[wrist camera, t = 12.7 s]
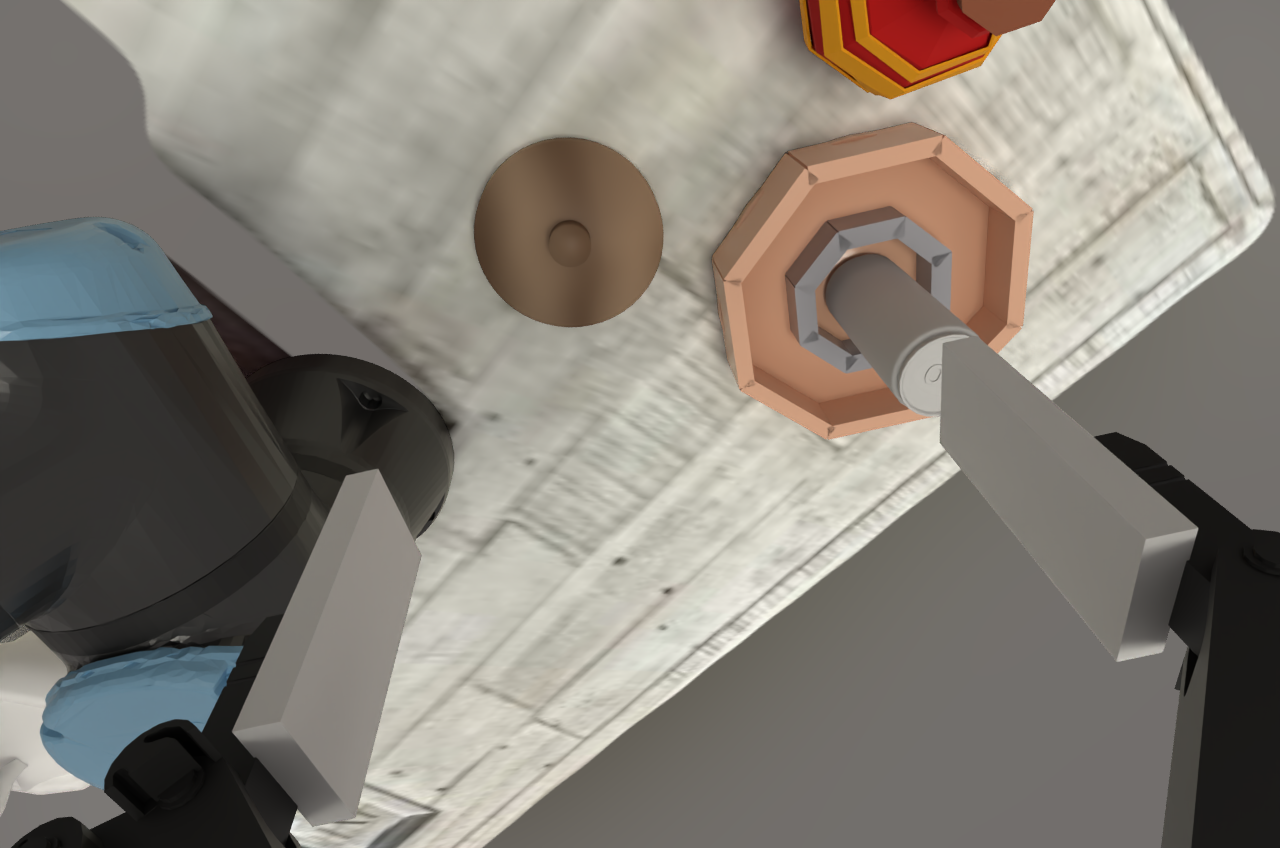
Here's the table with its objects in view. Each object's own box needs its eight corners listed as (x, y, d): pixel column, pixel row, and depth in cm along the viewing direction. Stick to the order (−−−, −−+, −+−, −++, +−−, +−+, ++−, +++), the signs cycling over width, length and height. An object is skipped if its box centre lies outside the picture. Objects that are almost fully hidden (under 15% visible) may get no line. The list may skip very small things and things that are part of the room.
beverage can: (881, 327, 47) (968, 424, 36) (812, 317, 46) (882, 413, 36) (909, 257, 44) (1011, 339, 34) (836, 244, 43) (919, 325, 33)
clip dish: (736, 426, 51) (748, 458, 47) (695, 170, 41) (707, 187, 38) (987, 371, 50) (1017, 399, 47) (1005, 98, 41) (1044, 109, 37)
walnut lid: (508, 334, 46) (505, 352, 44) (450, 160, 40) (443, 171, 38) (675, 297, 46) (680, 313, 44) (641, 116, 40) (645, 124, 38)
